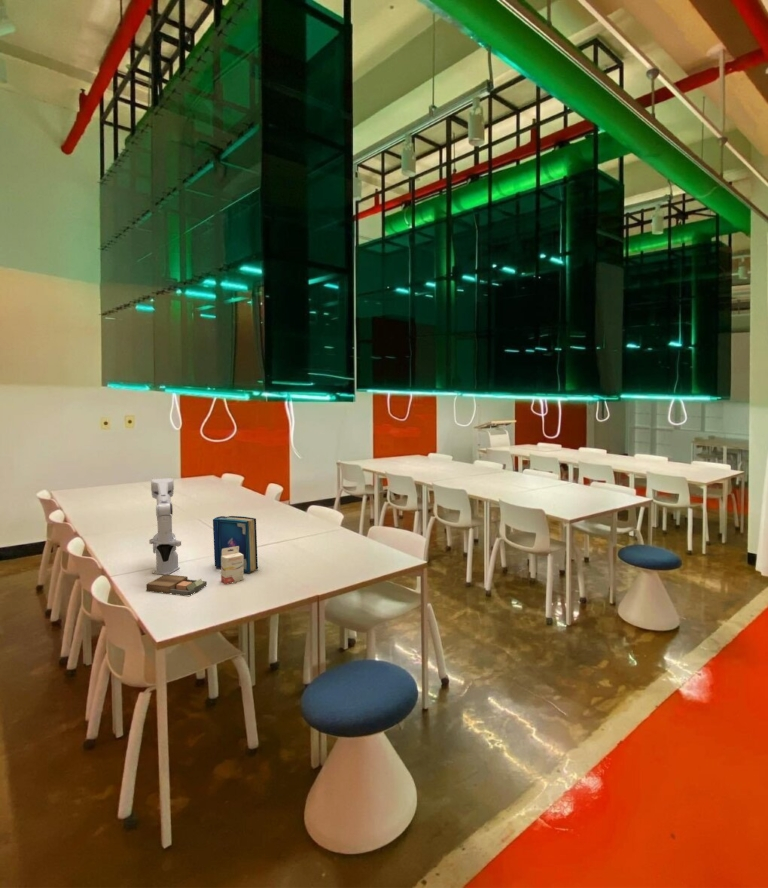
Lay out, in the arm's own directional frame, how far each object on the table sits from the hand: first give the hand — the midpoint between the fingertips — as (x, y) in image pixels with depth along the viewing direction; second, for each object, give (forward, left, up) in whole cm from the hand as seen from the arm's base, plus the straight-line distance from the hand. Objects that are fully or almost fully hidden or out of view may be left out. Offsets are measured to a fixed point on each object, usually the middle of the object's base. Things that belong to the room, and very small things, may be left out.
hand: (165, 561), depth 213 cm
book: (-23, +20, -10) cm, 32 cm away
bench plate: (+5, +5, -9) cm, 12 cm away
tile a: (+5, +13, -9) cm, 16 cm away
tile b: (+5, +17, -6) cm, 19 cm away
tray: (+5, +15, -9) cm, 18 cm away
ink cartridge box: (-9, +27, -10) cm, 30 cm away
